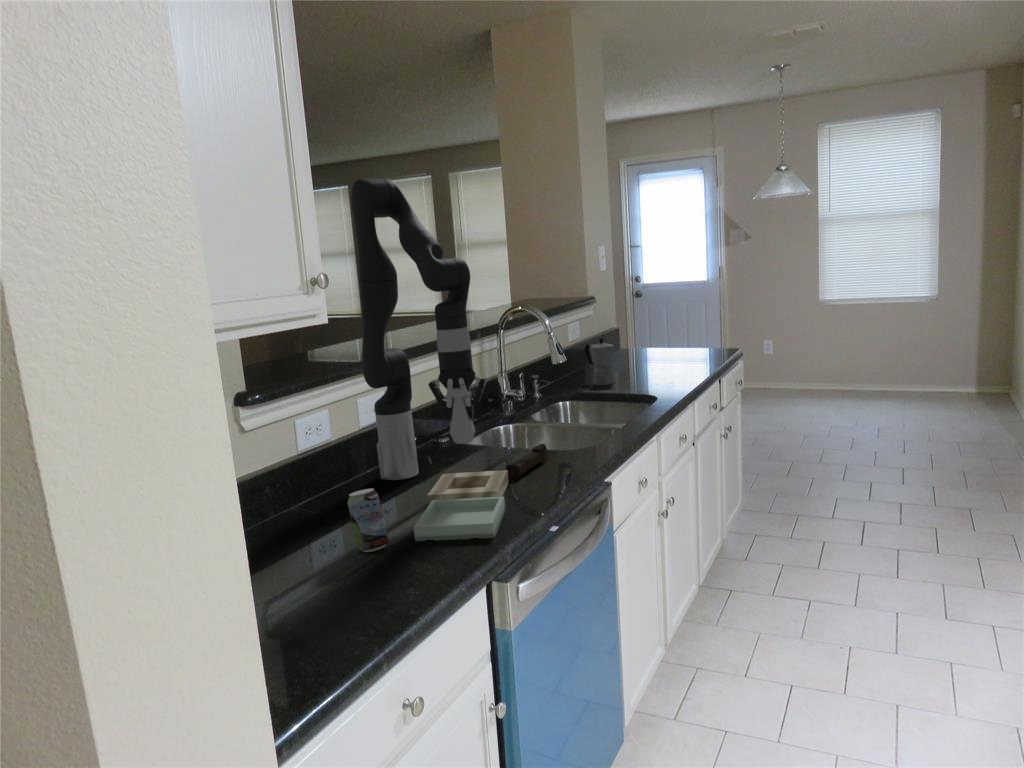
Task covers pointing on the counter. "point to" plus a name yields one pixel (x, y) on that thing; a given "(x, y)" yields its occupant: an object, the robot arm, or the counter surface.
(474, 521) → the parts tray
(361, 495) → the beverage can
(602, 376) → the coffeepot
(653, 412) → the counter surface
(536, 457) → the hand tool
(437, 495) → the holder
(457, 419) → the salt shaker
